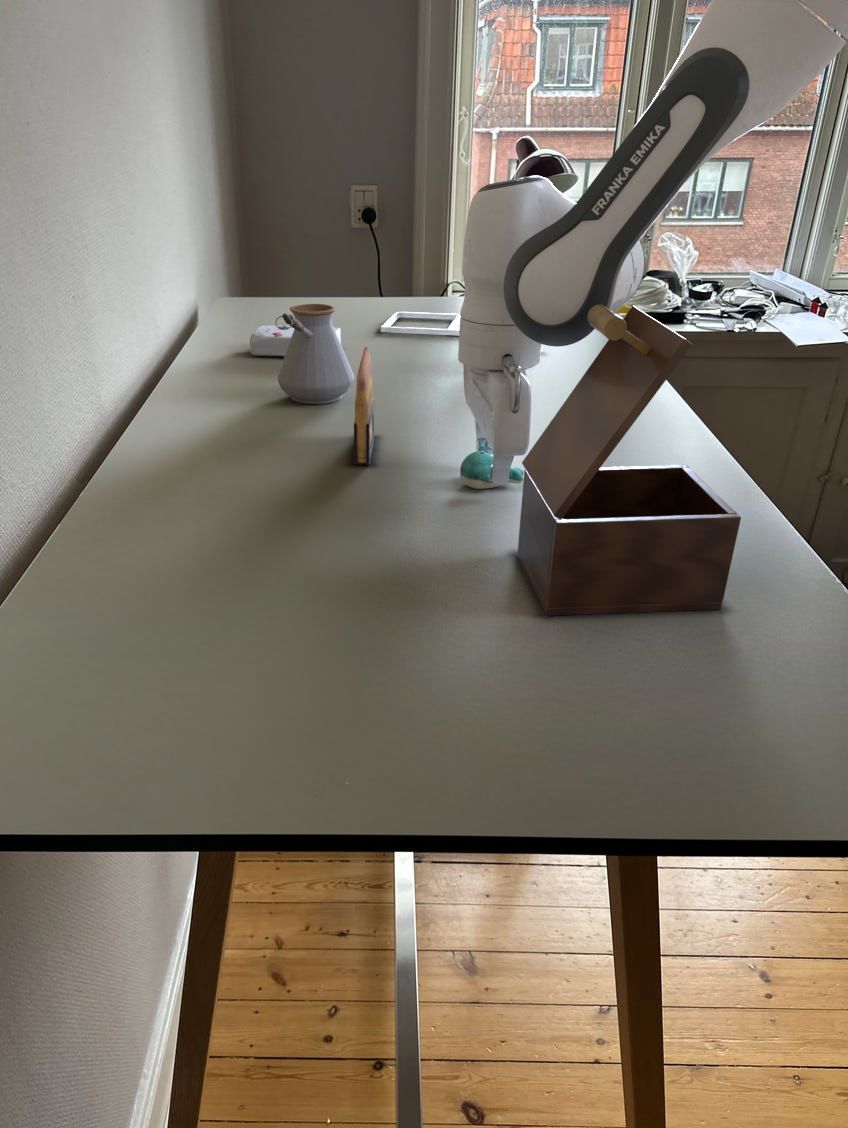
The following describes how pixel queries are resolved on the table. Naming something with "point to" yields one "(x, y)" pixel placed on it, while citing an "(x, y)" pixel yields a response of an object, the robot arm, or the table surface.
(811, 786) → the table surface
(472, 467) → the whale figurine
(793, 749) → the table surface
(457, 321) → the photo frame
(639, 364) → the compartment lid
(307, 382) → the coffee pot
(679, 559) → the compartment
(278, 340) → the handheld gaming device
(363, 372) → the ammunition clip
